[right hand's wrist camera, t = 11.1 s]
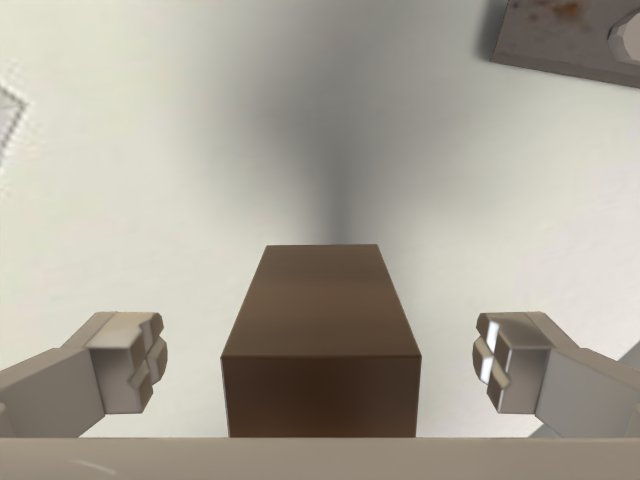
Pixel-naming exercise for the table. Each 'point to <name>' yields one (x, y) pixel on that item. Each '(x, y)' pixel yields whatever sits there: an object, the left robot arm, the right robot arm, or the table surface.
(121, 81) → the table surface
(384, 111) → the table surface
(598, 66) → the toy
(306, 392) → the bar
